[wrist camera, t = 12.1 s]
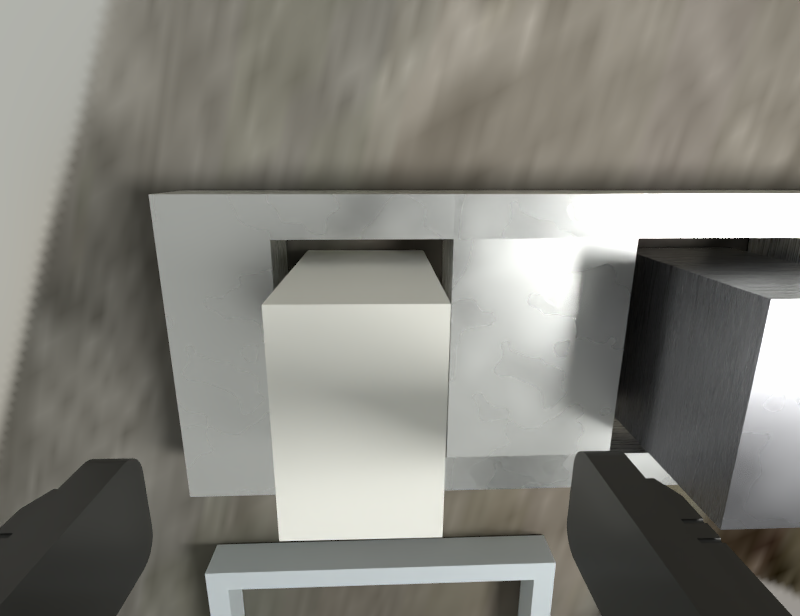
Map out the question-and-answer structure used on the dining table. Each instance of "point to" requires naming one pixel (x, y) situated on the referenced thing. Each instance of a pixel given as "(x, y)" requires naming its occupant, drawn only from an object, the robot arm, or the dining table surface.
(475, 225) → the grey fixture base
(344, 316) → the plug
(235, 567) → the tray
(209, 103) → the dining table surface
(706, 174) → the dining table surface
